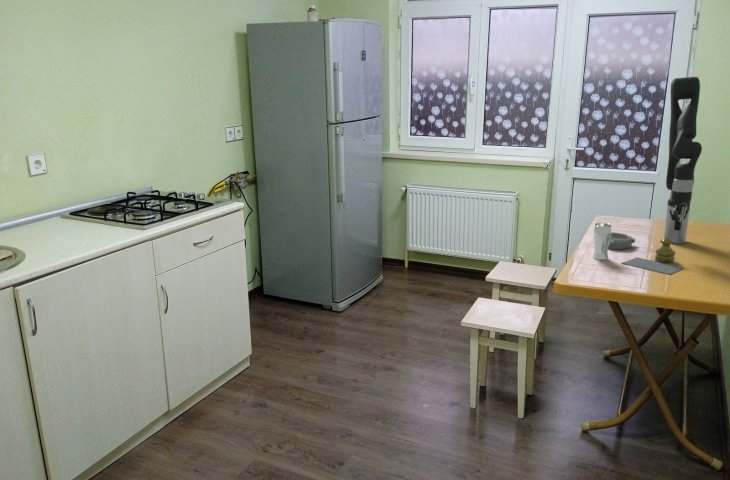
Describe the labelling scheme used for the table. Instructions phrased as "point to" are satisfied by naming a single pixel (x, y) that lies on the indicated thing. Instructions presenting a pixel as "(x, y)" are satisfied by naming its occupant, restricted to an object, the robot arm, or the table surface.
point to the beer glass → (601, 240)
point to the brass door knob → (665, 252)
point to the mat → (653, 265)
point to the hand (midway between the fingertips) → (677, 230)
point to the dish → (620, 241)
